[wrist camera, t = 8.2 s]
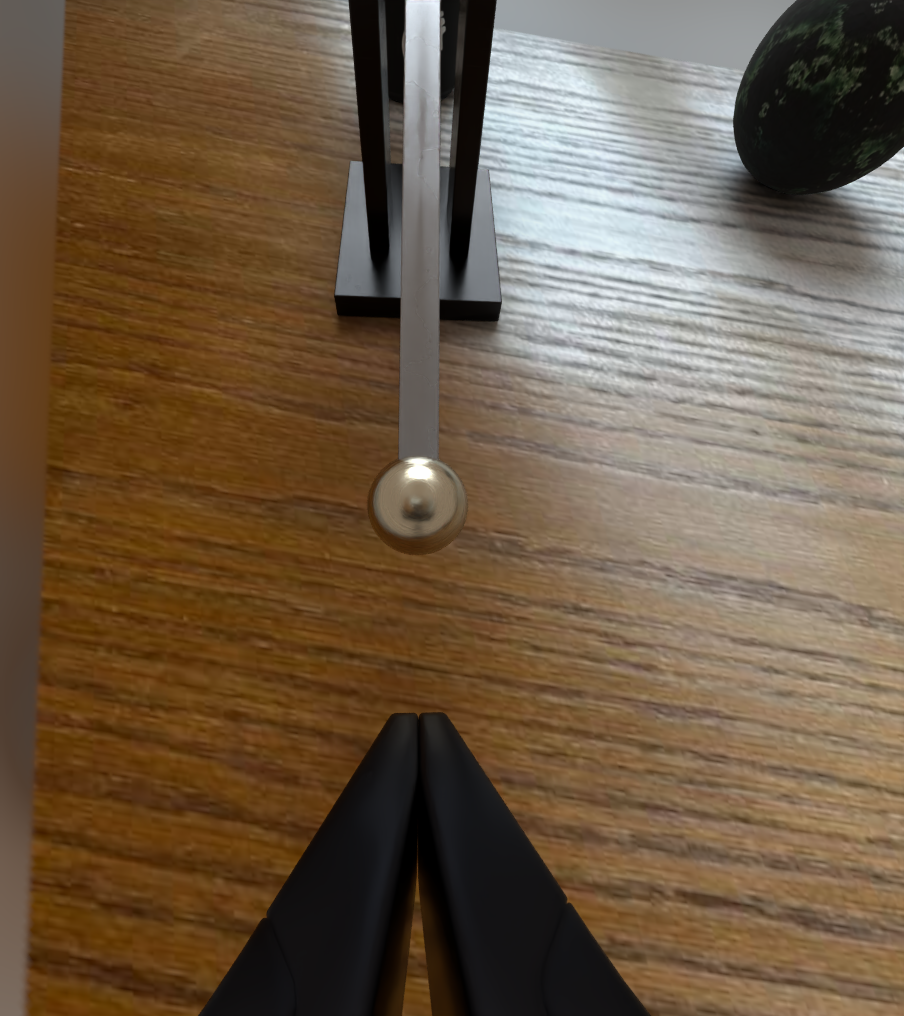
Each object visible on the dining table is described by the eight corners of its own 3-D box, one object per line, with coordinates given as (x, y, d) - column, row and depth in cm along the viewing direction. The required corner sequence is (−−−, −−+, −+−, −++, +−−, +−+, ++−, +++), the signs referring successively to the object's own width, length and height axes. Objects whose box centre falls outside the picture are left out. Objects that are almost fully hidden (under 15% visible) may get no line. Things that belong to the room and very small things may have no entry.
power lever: (463, 556, 15) (473, 554, 12) (370, 555, 15) (361, 554, 12) (462, -86, 18) (471, -207, 15) (383, -94, 18) (378, -217, 15)
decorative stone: (884, 228, 31) (1073, 15, 22) (737, 232, 30) (874, 7, 21) (811, 138, 35) (944, -70, 27) (680, 138, 34) (774, -80, 25)
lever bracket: (498, 321, 25) (586, -131, 12) (337, 315, 24) (255, -167, 12) (486, 189, 30) (540, -230, 17) (352, 182, 29) (306, -259, 17)
